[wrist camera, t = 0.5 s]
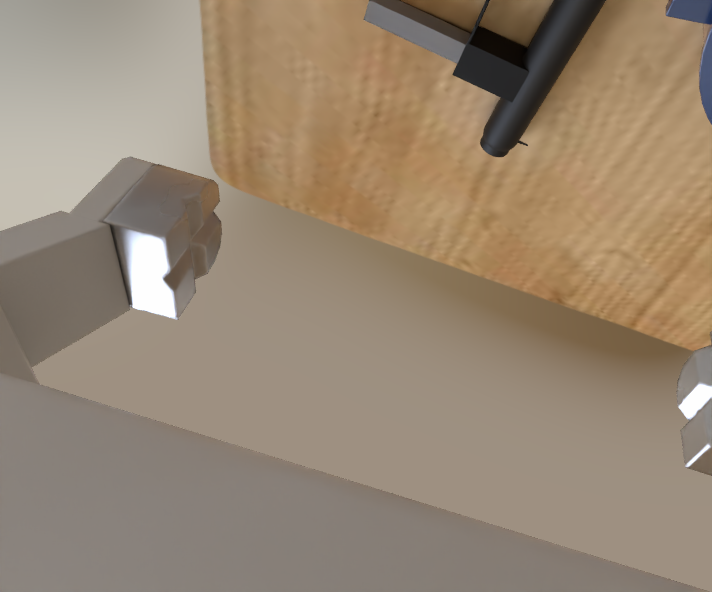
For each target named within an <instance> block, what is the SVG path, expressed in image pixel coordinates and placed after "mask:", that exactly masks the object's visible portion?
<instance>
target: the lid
mask: <svg viewBox="0 0 712 592" xmlns="http://www.w3.org/2000/svg"><path fill="white" fill-rule="evenodd" d="M699 89H700V94H701V100H702V104H703V107H704V110H705V112H706V115H707V118H708V119H709V121H710V123H711V124H712V23H711V25H710V27H709V29H708V32H707V35H706V38H705V41H704V44H703V47H702V52H701V58H700V65H699Z"/></svg>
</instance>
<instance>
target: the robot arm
mask: <svg viewBox="0 0 712 592" xmlns="http://www.w3.org/2000/svg"><path fill="white" fill-rule="evenodd" d="M219 202H220V198H219V188H218V185H217V183H216V182H215V181H214V180H211V179H207V178H204V177H200V176H197V175H193V174H190V173H187V172H183V171H180V170H176V169H173V168H170V167H166V166H162V165H159V164H158V165H157V164H154V163H151V162H147V161H144V160H140V159H137V158H133V157H128V158H124V159H122V160H120V161H119V162H118V164H117V165H116V166H115V167H114V168H113V169H112V170H111V171H110V172H109V173H108V174H107V175H106V176H105V177H104V178H103V179H102V180H101V181H100V182H99V183H98V184H97V185H96V186H95V187H94V188H93V189H92V190H91V191H90V192H89V193H88V194H87V195H86V197H84V198H83V200H82V201H81V202H80V203H79V204H78V205H77V206H76V207H75V208H74V209H73V210H72V211H71V212H70V213H66V212H62V211H59V212H56V213H53V214H50V215H47V216H44V217H41V218H38V219H35V220H32V221H29V222H26V223H23V224H20V225H17V226H14V227H11V228H9V229H6V230H3V231H0V592H709V591H706V590H703V589H700V588H696V587H693V586H690V585H687V584H683V583H680V582H677V581H674V580H671V579H667V578H664V577H661V576H658V575H654V574H651V573H648V572H645V571H641V570H638V569H635V568H631V567H628V566H625V565H622V564H619V563H615V562H612V561H608V560H606V559H602V558H599V557H596V556H593V555H589V554H586V553H583V552H580V551H576V550H573V549H570V548H567V547H563V546H560V545H557V544H554V543H551V542H547V541H544V540H541V539H538V538H535V537H531V536H528V535H525V534H522V533H518V532H515V531H512V530H509V529H505V528H502V527H499V526H495V525H492V524H489V523H486V522H482V521H480V520H476V519H473V518H469V517H467V516H463V515H460V514H457V513H454V512H450V511H447V510H444V509H441V508H437V507H434V506H431V505H428V504H424V503H421V502H418V501H415V500H412V499H408V498H405V497H402V496H399V495H395V494H392V493H389V492H386V491H382V490H379V489H376V488H372V487H369V486H366V485H363V484H360V483H357V482H353V481H350V480H347V479H344V478H340V477H337V476H334V475H331V474H327V473H324V472H321V471H318V470H315V469H311V468H308V467H305V466H302V465H298V464H295V463H292V462H289V461H285V460H282V459H279V458H275V457H272V456H269V455H266V454H263V453H260V452H256V451H253V450H250V449H247V448H243V447H240V446H237V445H234V444H230V443H227V442H224V441H221V440H217V439H214V438H211V437H208V436H205V435H201V434H198V433H195V432H192V431H188V430H185V429H182V428H179V427H175V426H172V425H169V424H166V423H163V422H159V421H156V420H153V419H150V418H147V417H143V416H140V415H137V414H134V413H130V412H127V411H124V410H121V409H118V408H114V407H111V406H108V405H105V404H101V403H98V402H95V401H92V400H88V399H85V398H82V397H79V396H76V395H72V394H69V393H66V392H63V391H59V390H56V389H53V388H50V387H46V386H43V385H40V384H39V382H38V380H37V378H36V376H35V374H34V371H33V369H32V367H33V366H35V365H36V364H38V363H40V362H42V361H44V360H45V359H47V358H48V357H50V356H52V355H54V354H55V353H57V352H58V351H61V350H62V349H64V348H66V347H67V346H69V345H71V344H72V343H74V342H76V341H77V340H79V339H81V338H83V337H84V336H86V335H88V334H90V333H91V332H93V331H95V330H96V329H98V328H100V327H101V326H103V325H105V324H107V323H108V322H110V321H112V320H113V319H115V318H117V317H119V316H120V315H122V314H124V313H125V312H127V311H129V310H130V307H132V308H136V309H139V310H143V311H147V312H151V313H155V314H158V315H162V316H166V317H170V318H174V319H179V317H180V316H181V314H182V313H183V311H184V310H185V308H186V307H187V305H188V303H189V302H190V300H191V299H192V297H193V296H194V294H195V293H196V287H195V279H197V278H199V277H201V276H204V275H206V274H208V272H209V270H210V269H211V267H212V265H213V264H214V262H215V259H216V257H217V254H218V251H219V248H220V243H221V235H222V228H221V221H220V220H219V218H218V217H217V216H216V214H215V213H214V211H213V210H214V209H215V207H216V206H217V205H218V203H219ZM710 337H711V343H712V331H711V332H710ZM677 403H678V407H679V408H680V409H681V411H682V412H683V414H684V415H685V416H686V417H687V419H688V420H689V422H688V423H687V424H686V425H685V426H684V427H683V428H682V429H681V437H682V446H683V453H684V462H685V467H686V468H689V469H692V470H695V471H699V472H702V473H705V474H708V475H711V476H712V345H710V346H707V347H704V348H701V349H698V350H695V351H694V352H693V353H692V355H691V356H690V357H689V358H688V360H687V361H686V362H685V363H684V366H683V368H682V371H681V373H680V376H679V379H678V385H677Z"/></svg>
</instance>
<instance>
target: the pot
mask: <svg viewBox="0 0 712 592" xmlns="http://www.w3.org/2000/svg"><path fill="white" fill-rule="evenodd" d="M666 16H669V17H674V18H679V19H683V20H688V21H693V22H698V23H703V37H704V41H705V38H706V35H707V32H708V29H709V27H710V25H711V23H712V0H669V1H668V4H667V6H666Z"/></svg>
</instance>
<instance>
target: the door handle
mask: <svg viewBox="0 0 712 592" xmlns="http://www.w3.org/2000/svg"><path fill="white" fill-rule="evenodd" d="M489 1H490V0H486V2H485V4H484V6H483V8H482V11H481V13H480V15H479V17H478V20H477V22H476V24H475V26H474V28H473V31H472V33H471V34H470V33H468V32H465V31H463V30H461V29H459V28H457V27H455V26H453V25H450V24H448V23H446V22H444V21H442V20H440V19H438V18H435V17H433V16H431V15H429V14H427V13H425V12H423V11H421V10H418V9H416V8H414V7H412V6H410V5H408V4H406V3H403V2H401V1H399V0H369V3H368V6H367V10H366V13H365V17H364V20H365V21H367V22H369V23H372V24H374V25H376V26H378V27H380V28H382V29H384V30H387V31H389V32H391V33H393V34H395V35H397V36H399V37H402V38H404V39H406V40H408V41H410V42H412V43H414V44H416V45H419V46H421V47H423V48H425V49H427V50H429V51H431V52H434V53H436V54H438V55H440V56H442V57H444V58H446V59H449V60H451V61H453V62H455V63H457V66H456V68H455V70H454V73H453V75H454V76H456V77H458V78H461V79H463V80H465V81H467V82H469V83H471V84H473V85H476V86H478V87H480V88H482V89H484V90H486V91H488V92H490V93H493V94H495V95H497V96H499V97H501V98H500V100H499V102H498V104H497V106H496V107H495V109H494V111H493V113H492V115H491V116H490V118H489V120H488V122H487V124H486V126H485V128H484V132H483V137H482V138H481V141H480V144H481V147H482V148H483V150H484V151H485V152H487V153H488V154H490V155H492V156H495V157H504V156H506V155H507V153H508V152H509V150H510V149H512V148H513V147H514V146H515V145H516V144H517V143H520V144H523V145H526V146H528V145H527V144H525V143H523V142H521V141H519V140H520V138H521V136H522V135H523V133H524V132H525V130H526V128H527V127H528V125H529V123H530V122H531V120H532V119H533V117H534V115H535V114H536V112H537V111H538V109H539V107H540V106H541V104H542V103H543V101H544V99H545V98H546V96H547V95H548V93H549V91H550V90H551V88H552V87H553V85H554V83H555V82H556V80H557V79H558V77H559V75H560V74H561V72H562V70H563V69H564V67H565V66H566V64H567V62H568V61H569V59H570V58H571V56H572V54H573V53H574V51H575V50H576V48H577V46H578V45H579V43H580V42H581V40H582V38H583V37H584V35H585V34H586V32H587V30H588V29H589V27H590V25H591V24H592V22H593V21H594V19H595V17H596V16H597V14H598V13H599V11H600V9H601V8H602V6H603V5H604V3H605V1H606V0H554V1H553V3H552V5H551V7H550V9H549V11H548V12H547V14H546V16H545V18H544V20H543V21H542V23H541V25H540V27H539V29H538V31H537V32H536V34H535V36H534V38H533V40H532V42H531V43H530V45H529V47H528V49H527V48H525V47H523V46H521V45H519V44H517V43H515V42H512V41H510V40H508V39H506V38H504V37H502V36H500V35H497V34H495V33H493V32H491V31H489V30H487V29H485V28H482V27H480V26H478V25H479V23H480V21H481V19H482V17H483V14H484V12H485V10H486V8H487V6H488V3H489Z"/></svg>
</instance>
